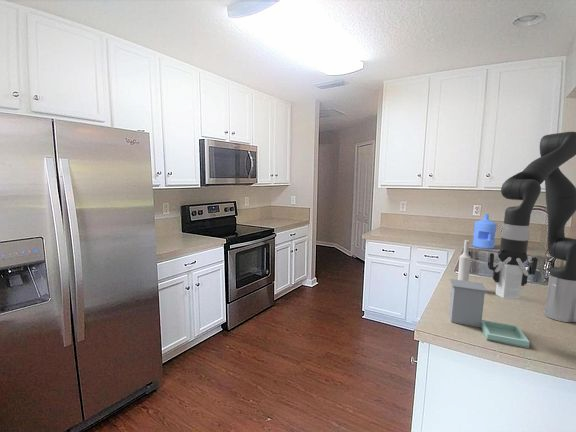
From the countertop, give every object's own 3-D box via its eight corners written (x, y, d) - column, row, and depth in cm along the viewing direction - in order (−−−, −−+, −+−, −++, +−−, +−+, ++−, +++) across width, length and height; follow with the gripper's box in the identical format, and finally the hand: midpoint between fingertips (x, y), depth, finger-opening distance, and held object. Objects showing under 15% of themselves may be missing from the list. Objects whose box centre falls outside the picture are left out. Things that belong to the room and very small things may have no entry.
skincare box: (510, 294, 110) (515, 262, 108) (520, 299, 105) (524, 265, 104) (494, 294, 109) (498, 261, 108) (503, 298, 105) (507, 265, 104)
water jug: (468, 244, 264) (471, 213, 261) (485, 245, 265) (489, 213, 262) (480, 249, 249) (484, 215, 245) (498, 249, 250) (502, 215, 246)
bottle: (462, 289, 154) (467, 241, 151) (454, 286, 159) (458, 239, 156) (470, 289, 156) (475, 241, 152) (462, 285, 161) (466, 239, 157)
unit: (478, 318, 123) (482, 283, 121) (483, 328, 114) (487, 290, 112) (447, 312, 127) (450, 278, 125) (449, 322, 118) (453, 286, 117)
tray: (517, 331, 113) (518, 326, 112) (528, 348, 101) (529, 342, 101) (479, 325, 117) (480, 319, 117) (486, 340, 106) (487, 334, 106)
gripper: (492, 237, 104) (487, 283, 106) (544, 241, 99) (538, 290, 101) (487, 233, 111) (482, 277, 113) (536, 237, 105) (530, 283, 108)
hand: (508, 283), depth 107 cm, fingers closed on skincare box, 7 cm apart
